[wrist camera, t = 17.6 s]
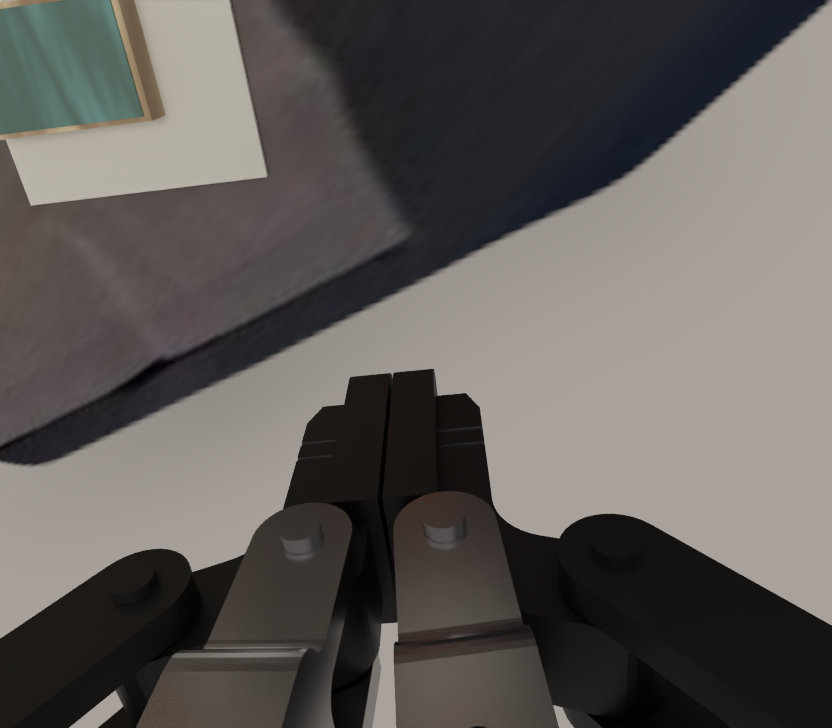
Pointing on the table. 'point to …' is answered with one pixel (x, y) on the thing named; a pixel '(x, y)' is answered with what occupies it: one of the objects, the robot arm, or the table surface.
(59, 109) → the slab
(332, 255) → the table surface
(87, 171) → the mat
